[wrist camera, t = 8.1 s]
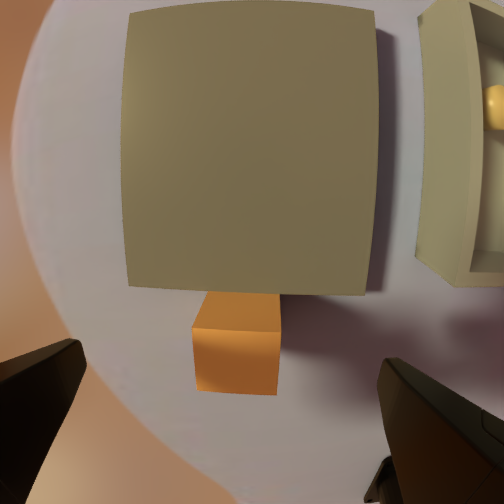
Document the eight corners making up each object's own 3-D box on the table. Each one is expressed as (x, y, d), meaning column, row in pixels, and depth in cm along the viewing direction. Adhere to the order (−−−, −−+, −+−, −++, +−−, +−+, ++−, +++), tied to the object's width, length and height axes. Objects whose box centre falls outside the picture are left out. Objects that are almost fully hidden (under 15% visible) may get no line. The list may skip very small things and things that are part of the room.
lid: (347, 331, 16) (371, 393, 11) (148, 322, 16) (110, 377, 12) (363, 24, 12) (398, -23, 7) (143, 26, 12) (96, -15, 7)
